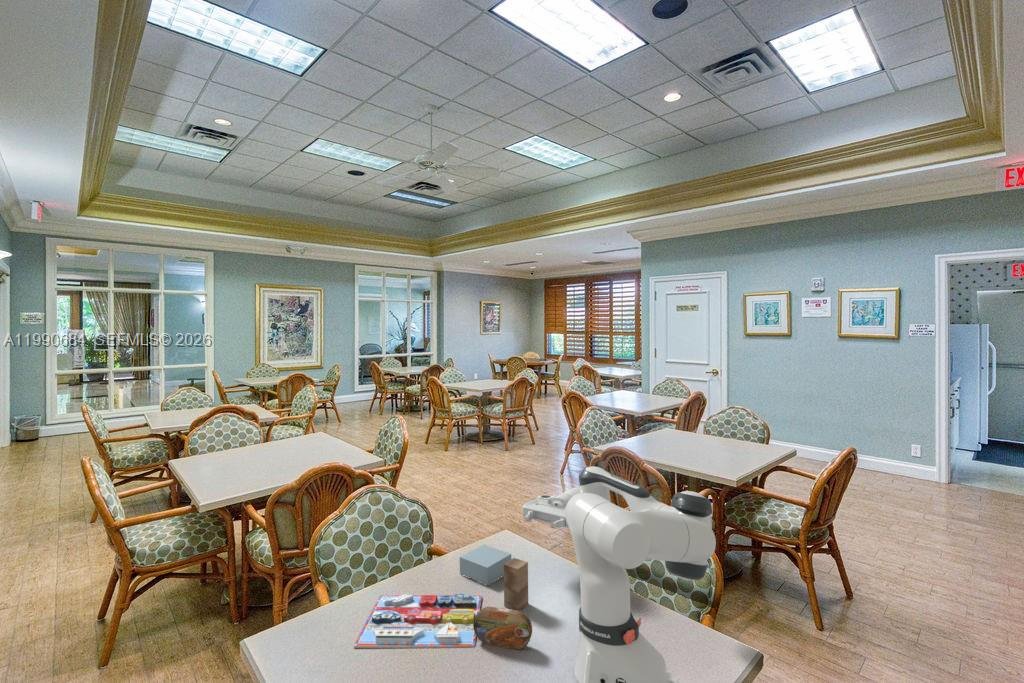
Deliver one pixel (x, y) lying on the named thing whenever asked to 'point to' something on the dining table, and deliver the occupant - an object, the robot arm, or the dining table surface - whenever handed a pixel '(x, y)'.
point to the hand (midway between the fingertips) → (539, 522)
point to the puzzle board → (421, 622)
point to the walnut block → (516, 584)
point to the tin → (503, 627)
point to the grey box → (484, 564)
